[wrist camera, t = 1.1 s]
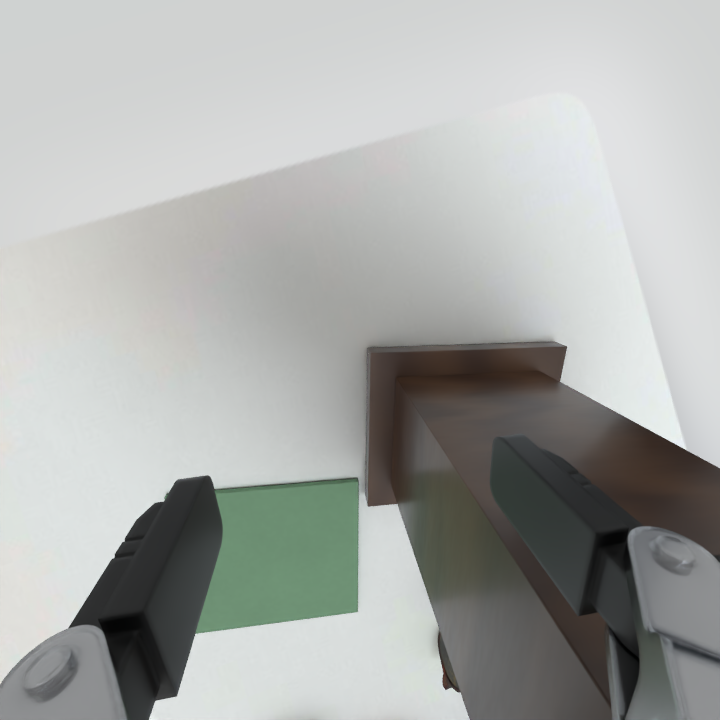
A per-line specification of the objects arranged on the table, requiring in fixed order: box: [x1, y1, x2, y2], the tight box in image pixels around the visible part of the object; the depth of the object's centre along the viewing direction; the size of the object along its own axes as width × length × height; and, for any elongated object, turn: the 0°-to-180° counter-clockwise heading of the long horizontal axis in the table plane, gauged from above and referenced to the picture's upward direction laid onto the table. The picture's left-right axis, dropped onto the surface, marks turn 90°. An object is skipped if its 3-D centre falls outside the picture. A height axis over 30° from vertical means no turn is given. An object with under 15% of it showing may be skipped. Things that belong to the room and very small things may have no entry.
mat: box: [165, 479, 359, 634], centre depth 31 cm, size 16×16×1 cm
